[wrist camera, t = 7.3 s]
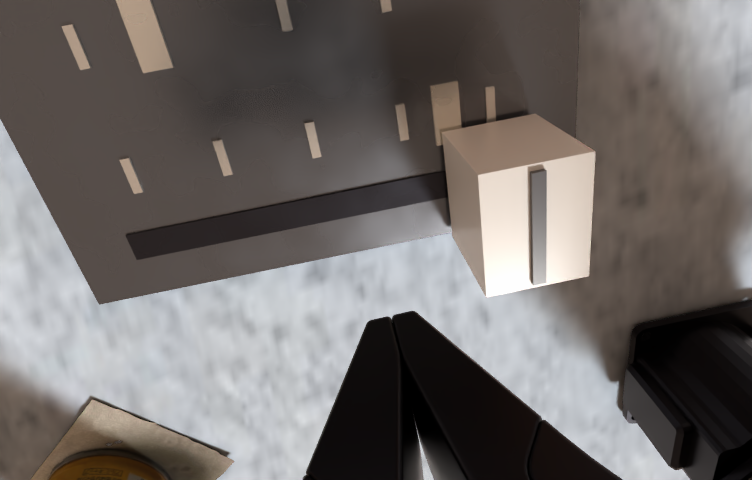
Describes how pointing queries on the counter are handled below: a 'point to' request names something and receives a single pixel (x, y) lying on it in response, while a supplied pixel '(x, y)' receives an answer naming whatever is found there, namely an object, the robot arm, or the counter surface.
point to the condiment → (127, 451)
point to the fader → (520, 202)
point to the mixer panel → (262, 122)
